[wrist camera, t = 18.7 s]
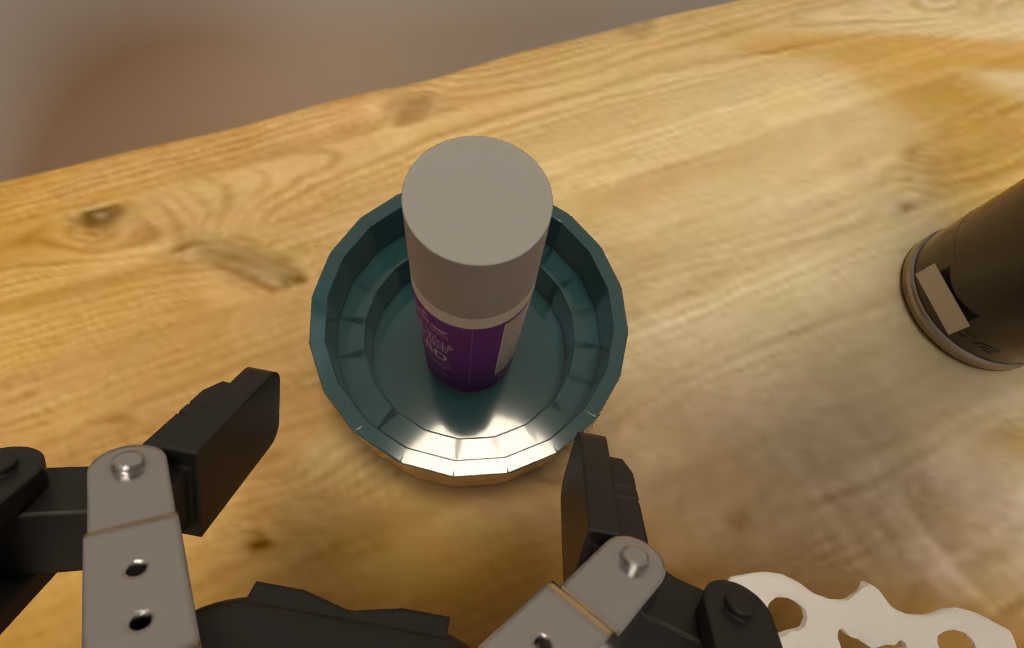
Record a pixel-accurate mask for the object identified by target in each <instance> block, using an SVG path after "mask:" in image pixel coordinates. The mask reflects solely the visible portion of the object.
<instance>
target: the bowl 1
mask: <svg viewBox="0 0 1024 648" xmlns="http://www.w3.org/2000/svg"><path fill="white" fill-rule="evenodd" d="M401 196H402V193H401V194H400V195H399V194H398V195H396V196H395V197H393V198H391V199H390V200H388V201H387V202H385V203H383V204H382V205H380V206H379V207H377V208H375V209H374V210H372V211H371V212H369V213H367V214H366V215H364V216H363V217H361V219H359V220H358V221H357V222H356V224H355V225H354V226H353V227H352V228H351V229H350V231H349V232H348V233H347V234H346V235H345V236H344V237H343V239H342V240H341V241H340V242H339V243H338V244H337V246H336V247H335V248H334V249H333V250H332V251H331V254H329V257H328V259H327V262H326V264H325V266H324V269H323V271H322V274H321V276H320V278H319V281H318V283H317V286H316V288H315V290H314V293H313V296H312V302H311V320H310V338H309V344H310V348H311V352H312V355H313V358H314V362H315V365H316V368H317V372H318V375H319V378H320V382H321V385H322V388H323V391H324V393H325V394H326V396H327V397H328V398H329V400H330V401H331V402H332V404H333V405H334V406H335V408H336V409H337V410H338V412H339V413H340V415H341V416H342V417H343V419H344V420H345V421H346V423H347V424H348V425H349V427H350V428H351V429H352V431H353V432H354V433H355V434H356V435H357V436H358V437H359V438H360V439H361V440H362V441H363V442H365V443H366V444H367V445H368V446H369V447H370V448H371V449H372V450H373V451H374V452H376V453H377V454H379V455H380V456H382V457H383V458H385V459H386V460H388V461H389V462H391V463H392V464H394V465H395V466H397V467H398V468H400V469H401V470H403V471H404V472H406V473H407V474H409V475H411V476H414V477H418V478H422V479H426V480H430V481H433V482H437V483H441V484H445V485H449V486H452V487H453V486H455V487H461V486H476V485H490V484H499V483H503V482H506V481H508V480H510V479H513V478H515V477H518V476H520V475H522V474H525V473H527V472H530V471H532V470H534V469H537V468H539V467H541V466H542V465H544V464H545V463H546V462H548V461H549V460H550V459H551V458H553V457H554V456H555V455H556V454H558V453H559V452H560V451H561V450H562V449H563V448H565V447H566V446H567V445H568V444H569V443H570V442H571V441H573V440H574V439H575V437H576V434H577V433H578V432H583V431H584V430H585V429H586V428H587V427H588V426H590V425H591V424H592V423H593V422H594V421H595V419H597V417H598V416H599V414H600V412H601V410H602V408H603V407H604V405H605V403H606V401H607V400H608V398H609V396H610V394H611V393H612V391H613V389H614V387H615V385H616V384H617V382H618V380H619V377H620V375H621V369H622V364H623V358H624V353H625V347H626V342H627V336H628V326H627V320H626V313H625V307H624V300H623V294H622V288H621V285H620V283H619V281H618V279H617V277H616V275H615V273H614V272H613V270H612V268H611V266H610V264H609V262H608V260H607V258H606V256H605V254H604V252H603V250H602V248H600V245H599V244H598V243H597V242H596V241H595V240H594V239H593V238H592V237H591V236H590V235H589V234H588V233H587V232H586V231H585V230H584V229H583V228H582V227H581V226H580V224H579V223H578V222H577V221H576V220H575V219H574V218H573V217H572V216H570V215H569V214H568V213H566V212H564V211H563V210H561V209H559V208H558V207H556V206H554V205H553V211H552V216H551V221H550V225H549V229H548V233H547V237H546V241H545V245H544V249H543V253H542V257H541V262H540V266H539V270H538V274H537V278H536V282H535V287H534V290H533V294H532V297H531V300H530V303H529V307H528V310H527V313H526V316H525V319H524V323H523V326H522V329H521V332H520V336H519V339H518V342H517V345H516V348H515V352H514V355H513V358H512V361H511V364H510V367H509V369H508V371H507V373H506V375H505V376H504V378H503V379H502V380H501V381H500V382H499V383H498V384H497V385H496V386H494V387H493V388H491V389H489V390H487V391H485V392H481V393H477V394H461V393H456V392H453V391H451V390H449V389H447V388H445V387H444V386H442V385H441V384H440V383H439V382H438V381H437V380H436V379H435V378H434V376H433V375H432V373H431V371H430V369H429V366H428V363H427V360H426V355H425V350H424V344H423V339H422V334H421V329H420V324H419V319H418V313H417V308H416V303H415V298H414V293H413V287H412V282H411V273H410V266H409V258H408V250H407V242H406V234H405V227H404V219H403V211H402V202H401Z"/></svg>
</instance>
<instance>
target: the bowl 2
mask: <svg viewBox="0 0 1024 648" xmlns="http://www.w3.org/2000/svg"><path fill="white" fill-rule="evenodd" d="M727 580H728V581H732V582H735V583H738V584H740V585H742V586H744V587H746V588H747V589H749V590H750V591H752V592H753V593H754V594H756V595H757V596H758V597H759V598H760V599H761V600H762V601H763V602H764V604H765V605H766V606H767V608H768V605H769V603H770V602H771V601H772V600H773V599H774V598H776V597H783V598H789V599H791V600H793V601H795V602H796V603H797V604H798V605H799V606H800V607H801V608H802V613H803V618H802V621H801V624H800V626H798V627H796V628H793V629H787V630H784V631H782V632H778V635H779V638H780V641H781V643H782V646H783V648H841V646H840V643H839V640H838V630H840V629H841V631H842V632H843V633H845V634H846V635H848V636H850V637H852V638H856V639H859V640H860V641H861V642H863V643H864V644H866V645H867V646H869V647H871V648H878V647H880V646H883V645H895V644H897V643H898V641H900V647H899V648H939V646H938V644H937V641H938V635H939V634H941V633H943V632H944V631H948V630H957V631H960V632H963V633H964V634H965V635H966V636H967V637H968V638H969V639H970V642H971V644H972V647H973V648H1017V646H1016V644H1015V641H1014V638H1013V635H1012V634H1011V632H1010V631H1009V630H1008V629H1006V628H1004V627H1002V626H1000V625H998V624H997V623H995V622H993V621H991V620H990V619H988V618H986V617H983V616H981V615H979V614H977V613H975V612H972V611H968V610H964V609H960V608H956V607H948V608H940V609H937V610H935V611H932V612H930V613H927V614H921V615H918V614H906V613H903V612H900V611H898V610H896V609H894V608H893V607H892V606H891V605H890V604H889V603H888V602H887V600H886V599H885V598H884V596H883V595H882V594H881V592H880V591H879V590H878V589H877V588H876V587H874V586H872V585H871V584H869V583H867V582H865V581H861V582H860V585H859V587H858V589H857V590H856V591H855V592H853V593H851V594H850V595H849V596H848V597H847V598H844V599H828V598H826V597H823V596H819V595H817V594H815V593H813V592H811V591H810V590H808V589H807V588H806V587H804V586H803V585H802V584H800V583H799V582H797V581H795V580H793V579H791V578H789V577H787V576H785V575H783V574H779V573H771V572H755V573H747V574H742V575H736V576H730V577H729V578H728V579H727Z"/></svg>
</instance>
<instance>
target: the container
mask: <svg viewBox="0 0 1024 648" xmlns="http://www.w3.org/2000/svg"><path fill="white" fill-rule="evenodd" d="M401 202H402V211H403V219H404V227H405V234H406V242H407V250H408V258H409V266H410V273H411V282H412V287H413V293H414V298H415V303H416V308H417V313H418V319H419V324H420V329H421V334H422V339H423V344H424V350H425V355H426V360H427V363H428V366H429V369H430V371H431V373H432V375H433V376H434V378H435V379H436V380H437V381H438V382H439V383H440V384H441V385H442V386H444V387H445V388H447V389H449V390H451V391H453V392H456V393H461V394H477V393H481V392H485V391H487V390H489V389H491V388H493V387H494V386H496V385H497V384H498V383H499V382H500V381H501V380H502V379H503V378H504V376H505V375H506V373H507V371H508V369H509V367H510V364H511V361H512V358H513V355H514V352H515V348H516V345H517V342H518V339H519V336H520V332H521V329H522V326H523V323H524V319H525V316H526V313H527V310H528V307H529V303H530V300H531V297H532V294H533V290H534V287H535V282H536V278H537V274H538V270H539V266H540V262H541V257H542V253H543V249H544V245H545V241H546V237H547V233H548V229H549V225H550V221H551V216H552V211H553V196H552V191H551V187H550V184H549V181H548V179H547V177H546V175H545V173H544V172H543V170H542V169H541V167H540V166H539V165H538V164H537V162H536V161H535V160H534V159H533V158H531V157H530V156H529V155H528V154H527V153H525V152H524V151H523V150H521V149H519V148H518V147H516V146H514V145H512V144H510V143H508V142H505V141H502V140H499V139H495V138H490V137H483V136H465V137H458V138H454V139H450V140H447V141H444V142H442V143H440V144H437V145H436V146H434V147H432V148H430V149H429V150H428V151H426V152H425V153H424V154H422V155H421V156H420V157H419V158H418V159H417V160H416V162H415V163H414V164H413V165H412V167H411V168H410V170H409V172H408V174H407V176H406V178H405V181H404V184H403V188H402V196H401Z"/></svg>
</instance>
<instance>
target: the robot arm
mask: <svg viewBox="0 0 1024 648" xmlns="http://www.w3.org/2000/svg"><path fill="white" fill-rule="evenodd" d="M902 284H903V291H904V295H905V298H906V301H907V304H908V307H909V309H910V311H911V313H912V315H913V317H914V318H915V320H916V321H917V323H918V324H919V326H920V327H921V328H922V330H923V331H924V332H925V333H926V334H927V335H928V337H929V338H930V339H931V340H932V341H933V342H934V343H936V344H937V345H938V346H939V347H940V348H942V349H943V350H944V351H946V352H947V353H949V354H950V355H952V356H953V357H955V358H957V359H959V360H961V361H963V362H965V363H967V364H970V365H973V366H976V367H979V368H983V369H989V370H1009V369H1014V368H1018V367H1021V366H1024V179H1023V180H1021V181H1019V182H1018V183H1016V184H1015V185H1013V186H1011V187H1010V188H1008V189H1007V190H1005V191H1003V192H1002V193H1000V194H999V195H997V196H995V197H994V198H992V199H991V200H989V201H987V202H986V203H984V204H983V205H981V206H979V207H978V208H976V209H974V210H973V211H971V212H969V213H968V214H966V215H965V216H963V217H961V218H960V219H958V220H957V221H955V222H953V223H952V224H950V225H949V226H947V227H945V228H944V229H941V230H939V231H937V232H934V233H933V234H931V235H930V236H928V237H926V238H925V239H923V240H922V241H920V242H919V243H918V244H916V245H915V246H914V247H913V248H912V250H911V251H910V253H909V254H908V256H907V258H906V260H905V263H904V267H903V273H902ZM279 400H280V377H279V374H278V373H277V372H272V371H267V370H262V369H256V368H251V367H247V368H245V369H244V370H243V371H242V372H241V373H240V374H239V375H238V376H237V377H236V378H235V379H234V380H233V381H232V382H231V383H228V382H223V381H222V382H220V383H218V384H216V385H213V386H211V387H209V388H207V389H204V390H203V391H202V392H200V393H199V394H198V395H197V396H196V397H195V398H194V399H193V400H191V401H190V404H187V405H186V406H185V407H184V408H183V409H181V410H180V412H179V414H176V415H175V416H174V417H172V418H171V419H170V420H169V421H168V422H167V423H166V424H165V425H164V426H162V427H161V428H160V429H159V430H158V431H157V432H156V433H155V434H153V435H152V436H151V437H150V438H149V439H148V440H147V441H146V442H144V443H143V444H142V445H130V446H124V447H120V448H116V449H113V450H111V451H108V452H106V453H104V454H102V455H101V456H99V457H98V458H96V459H95V460H94V461H93V462H92V463H91V465H90V466H88V467H63V468H47V467H46V462H45V458H44V455H43V454H42V453H41V452H40V451H38V450H36V449H33V448H29V447H5V448H0V634H1V633H2V632H3V631H4V630H5V629H6V628H7V627H8V626H9V625H10V623H11V622H12V621H13V620H14V619H15V618H16V617H17V616H18V615H19V614H20V613H21V611H22V610H23V609H24V608H25V607H26V606H27V605H28V604H29V603H30V602H31V600H32V599H33V598H34V597H35V596H36V595H37V594H38V593H39V592H40V591H41V589H42V588H43V587H44V586H45V585H46V584H47V583H48V582H49V581H50V580H51V579H52V577H53V576H54V575H55V574H56V573H57V572H67V571H79V570H83V582H82V648H471V647H470V646H468V645H467V644H466V643H464V642H463V641H461V640H460V639H458V638H456V637H454V636H452V635H450V634H448V633H447V631H448V626H449V620H450V617H447V616H442V615H436V614H431V613H425V612H420V611H415V610H409V609H404V608H399V609H378V610H358V611H351V610H347V609H344V608H342V607H340V606H338V605H335V604H333V603H331V602H329V601H327V600H325V599H322V598H320V597H318V596H316V595H314V594H312V593H309V592H307V591H305V590H301V589H295V588H290V587H285V586H279V585H274V584H268V583H263V582H258V581H256V583H255V585H254V586H253V588H252V590H251V591H250V593H249V595H248V597H243V598H235V599H229V600H224V601H220V602H216V603H213V604H210V605H207V606H204V607H202V608H199V609H197V610H195V607H194V601H193V595H192V589H191V583H190V578H189V572H188V566H187V560H186V554H185V549H184V543H183V537H182V533H183V534H188V535H194V536H199V537H202V535H203V534H204V533H205V532H206V530H207V529H208V528H209V526H210V525H211V524H212V522H213V521H214V520H215V518H216V517H217V516H218V514H219V513H220V512H221V511H222V509H223V508H224V507H225V505H226V504H227V503H228V501H229V500H230V499H231V497H232V496H233V495H234V493H235V492H236V491H237V489H238V488H239V487H240V486H241V484H242V483H243V482H244V480H245V479H246V478H247V476H248V475H249V474H250V472H251V471H252V470H253V468H254V467H255V466H256V464H257V463H258V462H259V461H260V459H261V458H262V457H263V455H264V454H265V453H266V451H267V450H268V449H269V447H270V446H271V445H272V443H273V441H274V439H275V437H276V434H277V430H278V426H279ZM638 500H639V499H638V495H637V491H636V486H635V481H634V477H633V473H632V472H631V470H630V469H629V468H628V466H627V465H626V464H625V462H624V461H623V460H622V459H619V458H613V457H609V452H608V446H607V440H606V437H604V436H599V435H594V434H589V433H583V432H578V433H577V434H576V437H575V440H574V444H573V447H572V451H571V454H570V458H569V461H568V465H567V468H566V472H565V475H564V479H563V484H562V491H561V524H562V555H563V584H561V585H560V586H559V585H558V584H556V583H555V582H554V581H551V582H549V583H547V584H546V585H544V586H543V587H542V588H541V589H540V590H539V591H538V592H537V593H536V594H534V595H533V596H532V597H531V598H530V599H529V600H528V601H527V602H526V603H525V604H524V605H523V606H521V607H520V608H519V609H518V610H517V611H516V612H515V613H514V614H513V615H512V616H511V617H510V618H508V619H507V620H506V621H505V622H504V623H503V624H502V625H501V626H500V627H499V628H498V629H497V630H495V631H494V632H493V633H492V634H491V635H490V636H489V637H488V638H487V639H486V640H485V641H484V642H482V643H481V644H480V645H479V646H478V647H477V648H783V646H782V643H781V641H780V638H779V635H778V632H777V629H776V627H775V624H774V621H773V618H772V616H771V613H770V611H769V610H768V608H767V606H766V605H765V604H764V602H763V601H762V600H761V599H760V598H759V597H758V596H757V595H756V594H754V593H753V592H752V591H750V590H749V589H747V588H746V587H744V586H742V585H740V584H738V583H735V582H732V581H728V580H715V581H713V582H711V583H709V584H708V585H707V586H706V588H705V590H704V591H703V590H701V589H699V588H697V587H694V586H692V585H690V584H688V583H686V582H684V581H681V580H679V579H678V578H676V577H674V576H672V575H671V574H669V573H668V572H667V571H666V569H665V564H664V562H663V560H662V558H661V557H660V555H659V554H658V553H657V552H656V551H655V550H654V549H653V548H652V547H651V546H650V545H648V541H647V536H646V531H645V527H644V522H643V518H642V513H641V509H640V504H639V503H638Z"/></svg>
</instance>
